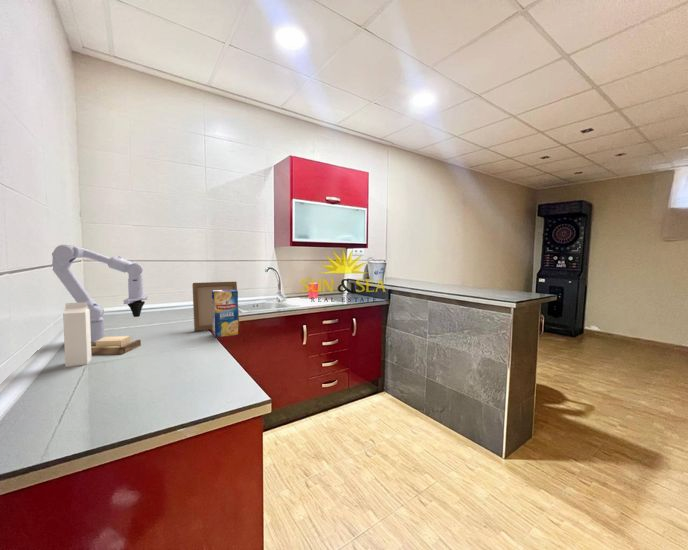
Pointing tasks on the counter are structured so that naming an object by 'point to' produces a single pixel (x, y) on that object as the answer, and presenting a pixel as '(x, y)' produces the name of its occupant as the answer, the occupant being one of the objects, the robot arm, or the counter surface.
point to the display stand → (114, 348)
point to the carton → (113, 341)
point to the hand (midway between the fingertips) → (136, 316)
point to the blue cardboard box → (224, 313)
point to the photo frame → (207, 302)
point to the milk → (77, 334)
